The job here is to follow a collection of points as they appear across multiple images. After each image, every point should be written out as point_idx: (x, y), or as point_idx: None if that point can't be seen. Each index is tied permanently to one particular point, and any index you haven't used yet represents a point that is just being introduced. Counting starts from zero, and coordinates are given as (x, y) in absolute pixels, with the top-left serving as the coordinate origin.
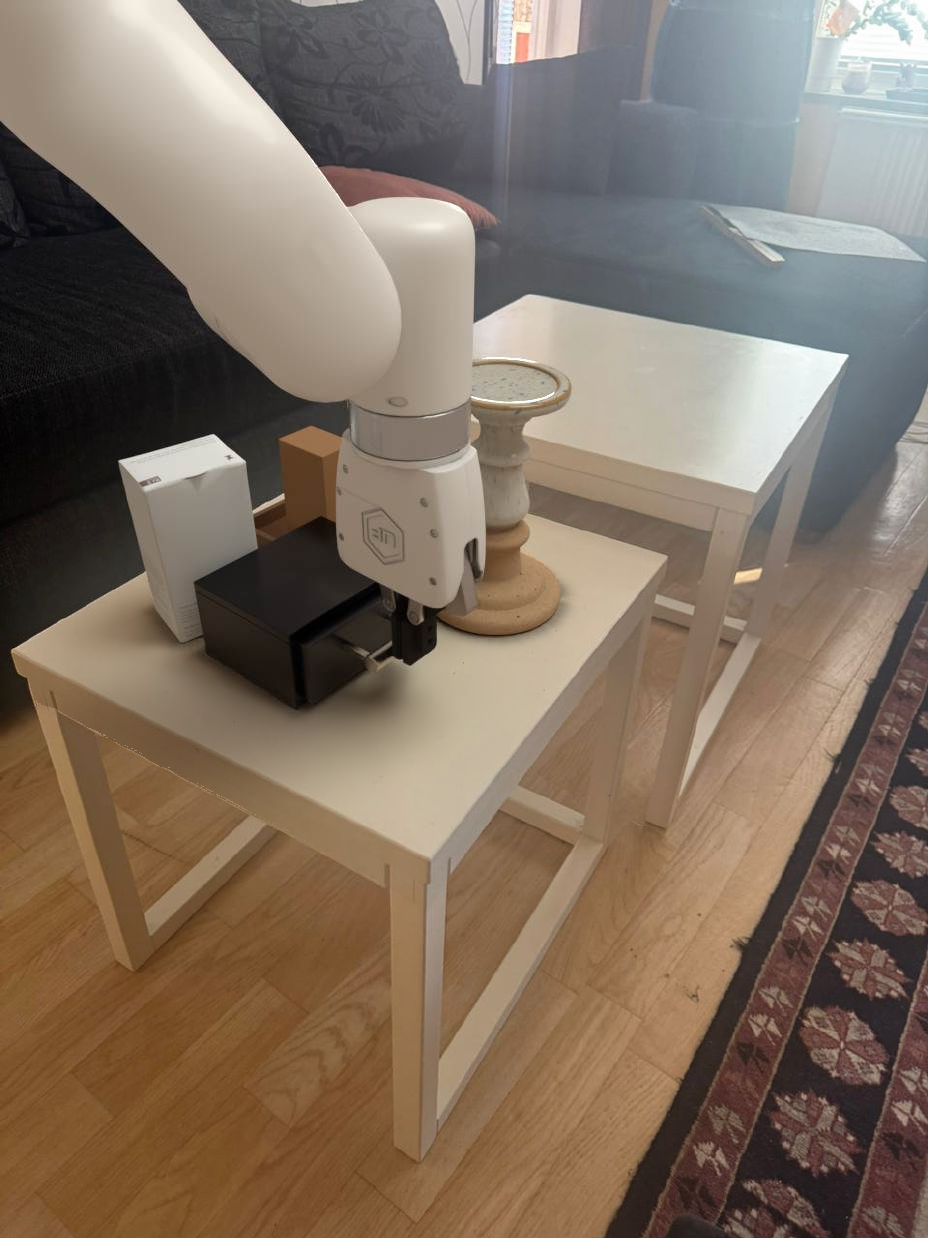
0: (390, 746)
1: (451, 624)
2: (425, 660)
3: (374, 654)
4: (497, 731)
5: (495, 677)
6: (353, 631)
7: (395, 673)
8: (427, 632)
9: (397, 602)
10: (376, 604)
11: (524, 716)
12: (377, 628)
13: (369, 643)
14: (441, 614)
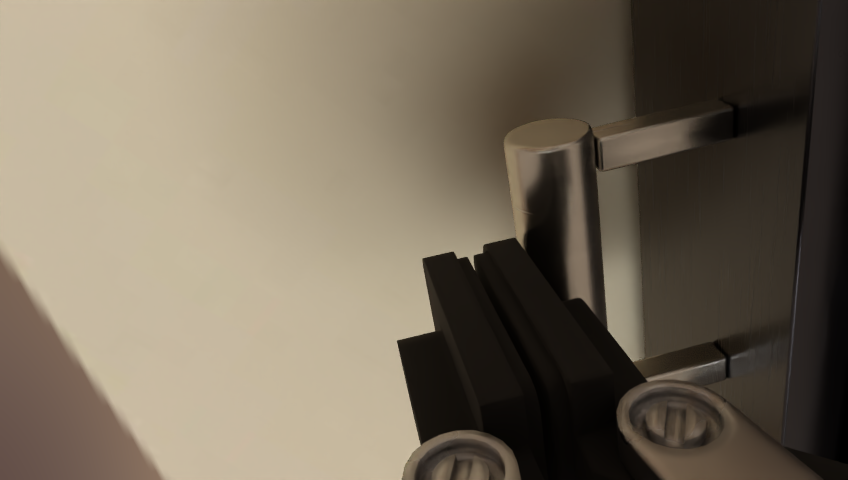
0: (282, 12)
1: None
2: None
3: (564, 172)
4: (145, 331)
5: (352, 443)
6: (752, 185)
7: None
8: (420, 439)
9: (638, 470)
10: (787, 354)
11: (160, 422)
12: (708, 286)
13: (684, 224)
14: None
